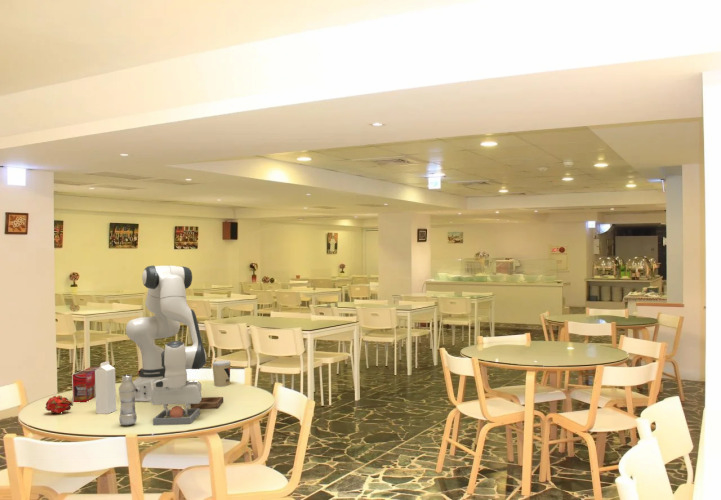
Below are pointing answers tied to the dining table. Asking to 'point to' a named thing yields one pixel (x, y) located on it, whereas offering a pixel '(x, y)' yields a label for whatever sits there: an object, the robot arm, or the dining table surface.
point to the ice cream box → (84, 385)
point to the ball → (176, 412)
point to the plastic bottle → (127, 401)
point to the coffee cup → (221, 373)
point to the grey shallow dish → (170, 421)
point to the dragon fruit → (58, 404)
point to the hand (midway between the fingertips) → (177, 414)
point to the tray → (208, 403)
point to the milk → (105, 389)
